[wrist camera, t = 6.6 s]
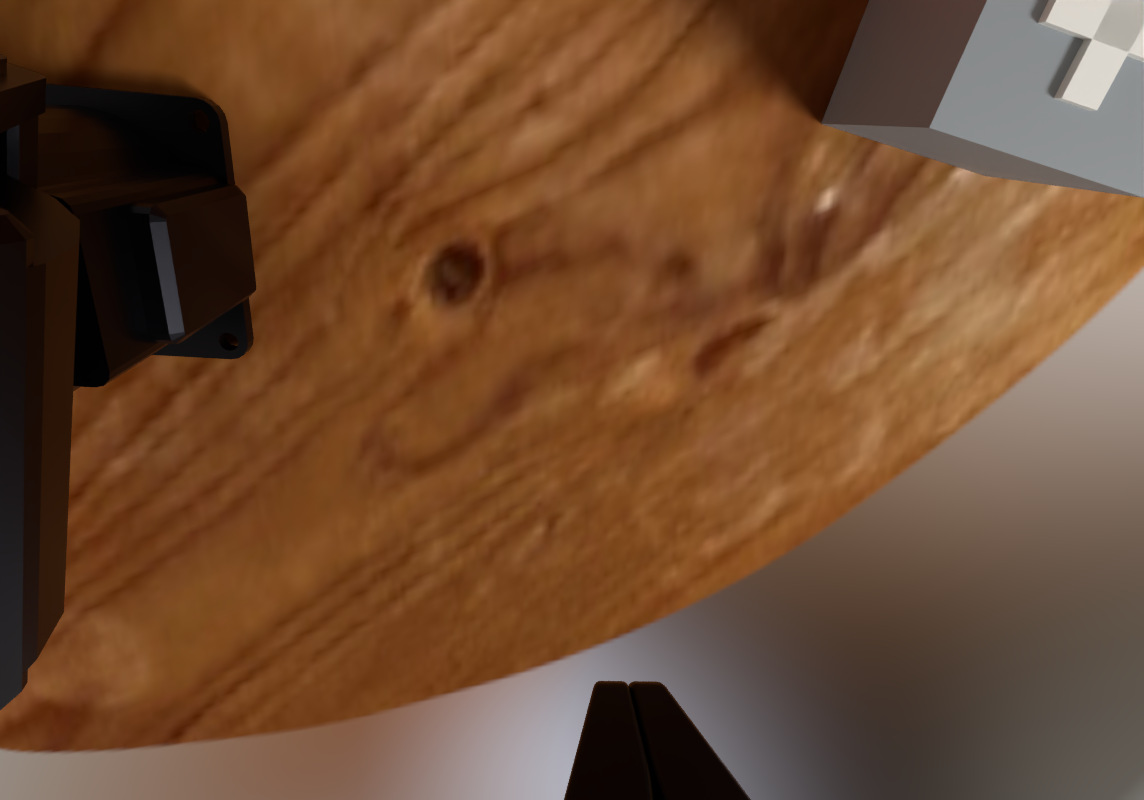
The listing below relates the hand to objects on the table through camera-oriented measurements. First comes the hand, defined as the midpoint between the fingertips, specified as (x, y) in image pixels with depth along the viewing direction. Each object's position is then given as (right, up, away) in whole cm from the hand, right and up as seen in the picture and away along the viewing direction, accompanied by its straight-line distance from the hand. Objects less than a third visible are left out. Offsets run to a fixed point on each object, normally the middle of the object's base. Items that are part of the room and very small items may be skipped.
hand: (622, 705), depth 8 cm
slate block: (+9, +13, +8) cm, 18 cm away
